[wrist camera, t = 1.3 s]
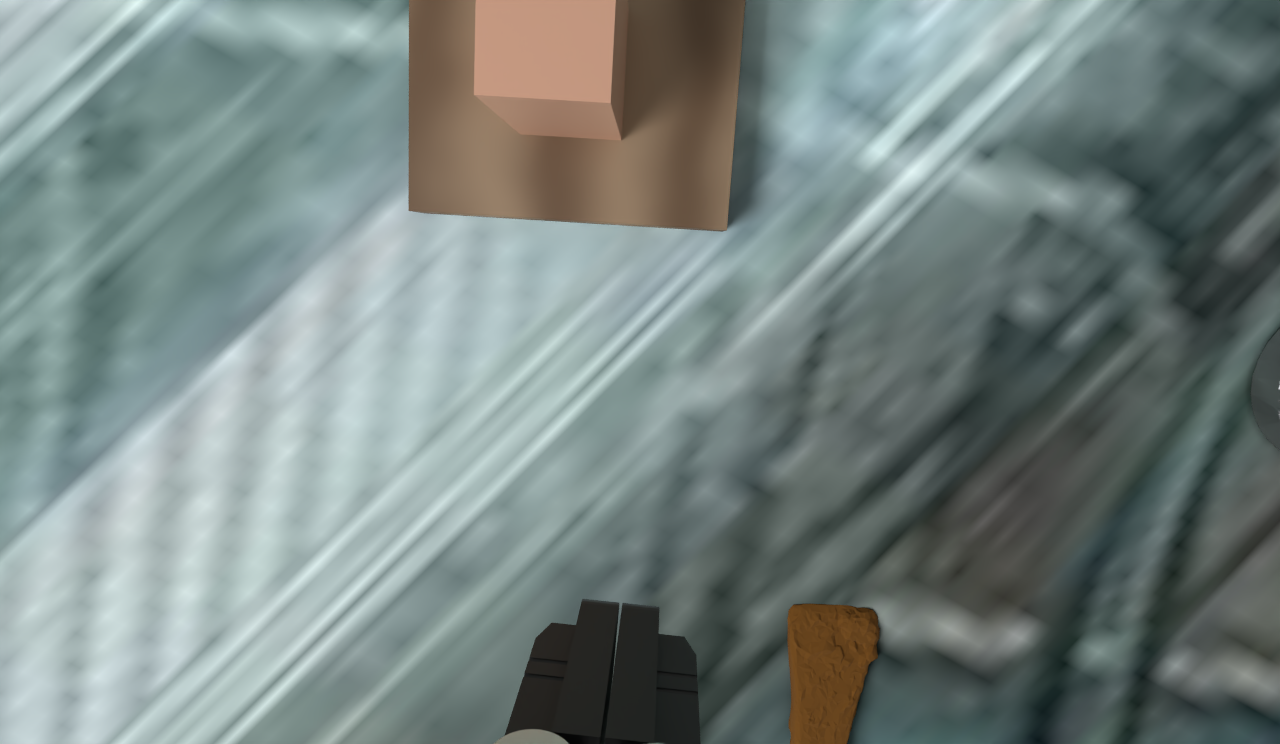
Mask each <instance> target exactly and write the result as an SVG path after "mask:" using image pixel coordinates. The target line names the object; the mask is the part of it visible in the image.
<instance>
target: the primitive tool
mask: <svg viewBox="0 0 1280 744" xmlns="http://www.w3.org/2000/svg"><path fill="white" fill-rule="evenodd" d="M879 631H880V628H879V627H878V617H877V615H876V613H875V612H874V611H873V610H871V609H868V608H856V607H853V606H847V605H826V604H800V605H793V606H792V607H791V608H790V609H789V614H788V640H787V641H788V654H789V666H790V679H791V712H790V718H789V729H790V732H791V740H790V744H847V742H848V738H849V733H850V731H851V729H852V722H853V719H854V717H855V714H856V709H857V704H858V701H859V699H860V694H861V692H862V690H863V686H864V679H865V675H866V674H867V672H868V666H869V664H870V662H872V661H873V660H875V659H877V658H878V653H877V646H876V645H877V641H878V639H879Z"/></svg>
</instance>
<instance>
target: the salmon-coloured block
mask: <svg viewBox="0 0 1280 744" xmlns="http://www.w3.org/2000/svg"><path fill="white" fill-rule="evenodd" d="M628 13H629V7H628V0H476V5H475V61H474V95H475V96H476V97H477V98H478V99H479V100H480V101H482V102H483V103H484V104H485V105H486V106H488V107H489V108H490V109H491V110H492V111H493V112H495V113H496V114H497V115H498V116H499V117H500V118H502V119H503V120H504V121H505V122H506V123H507V124H509V125H510V126H511V127H512V128H513V129H515V130H516V131H517V132H518V133H519V134H523V135H540V136H556V137H573V138H589V139H606V140H622V125H623V106H624V87H625V69H626V50H627V32H628Z"/></svg>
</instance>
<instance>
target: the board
mask: <svg viewBox="0 0 1280 744" xmlns="http://www.w3.org/2000/svg"><path fill="white" fill-rule="evenodd" d="M475 5H476V0H409V211H414V212H420V213H430V214H447V215H463V216H479V217H496V218H512V219H528V220H544V221H561V222H577V223H593V224H610V225H626V226H642V227H658V228H675V229H691V230H707V231H726V230H727V222H728V209H729V197H730V185H731V172H732V160H733V147H734V135H735V123H736V110H737V98H738V86H739V73H740V61H741V49H742V36H743V24H744V11H745V0H628V7H629V13H628V32H627V50H626V69H625V87H624V106H623V125H622V140H606V139H589V138H573V137H556V136H540V135H523V134H519V133H518V132H517V131H516V130H515V129H513V128H512V127H511V126H510V125H509V124H507V123H506V122H505V121H504V120H503V119H502V118H500V117H499V116H498V115H497V114H496V113H495V112H493V111H492V110H491V109H490V108H489V107H488V106H486V105H485V104H484V103H483V102H482V101H480V100H479V99H478V98H477V97H476V96H475V95H474V61H475Z"/></svg>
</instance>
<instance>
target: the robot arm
mask: <svg viewBox="0 0 1280 744" xmlns="http://www.w3.org/2000/svg"><path fill="white" fill-rule="evenodd" d="M1251 401H1252V410H1253V413H1254V416H1255V419H1256V421H1257V424H1258V426H1259V428H1260V429H1261V431H1262V432H1263V434H1264V435H1265V437H1266V438H1267V439H1268V440H1269V441H1270V442H1271V443H1272V444H1273V445H1274V446H1275V447H1276V448H1278V449H1279V450H1280V329H1279V330H1278V331H1277V332H1276V333H1275V335H1274V336H1273V337H1272V338H1271V339H1270V340H1269V342H1268V343H1267V345H1266V346H1265V348H1264V350H1263V352H1262V353H1261V355H1260V357H1259V359H1258V361H1257V365H1256V368H1255V371H1254V374H1253V377H1252V386H1251ZM618 613H619V603H617V602H607V601H598V600H589V599H582V602H581V607H580V611H579V615H578V620H577V624H576V625H568V624H559V623H551V624H550V625H549V626H548V627H547V628H546V629H545V630H544V631H543V632H542V633H541V634H540V635H538V636H537V637H536V639H535V642H534V645H533V648H532V652H531V655H530V659H529V661H528V664H527V667H526V670H525V675H524V677H523V680H522V683H521V686H520V689H519V692H518V695H517V699H516V702H515V705H514V708H513V711H512V714H511V717H510V721H509V724H508V727H507V730H506V733H505V736H504V737H502V738H500V739H499V740H497V741H496V742H495V743H494V744H700V724H699V703H698V682H697V662H696V654H695V653H694V651H693V650H692V648H691V646H690V645H689V643H688V642H687V640H686V639H685V637H681V636H672V635H663V634H658V630H659V607H656V606H646V605H637V604H628V603H623V604H622V612H621V619H620V627H619V635H618V643H617V650H616V658H615V666H614V656H615V645H616V635H617V624H618ZM613 667H614V674H613ZM612 678H613V681H612ZM611 687H612V689H611ZM610 696H611V697H610Z"/></svg>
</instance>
